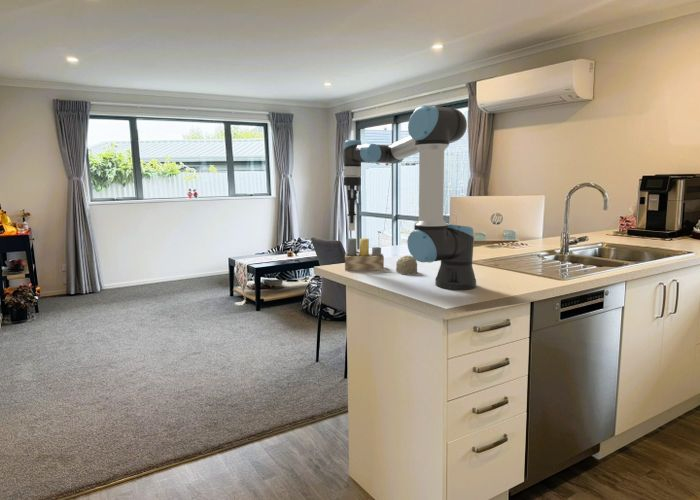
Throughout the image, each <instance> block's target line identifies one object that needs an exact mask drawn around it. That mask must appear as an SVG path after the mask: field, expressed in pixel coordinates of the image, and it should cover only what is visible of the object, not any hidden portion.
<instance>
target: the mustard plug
mask: <svg viewBox="0 0 700 500" xmlns="http://www.w3.org/2000/svg"><path fill="white" fill-rule="evenodd" d="M369 245H370V238H359V254H360V256H369V254H370V252H369V250H370V246H369Z"/></svg>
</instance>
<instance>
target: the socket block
mask: <svg viewBox="0 0 700 500" xmlns="http://www.w3.org/2000/svg"><path fill="white" fill-rule="evenodd" d="M344 254H345V255H344V271H384V269H385V267H384V266H385V265H384V264H385V259H384V254H383V253H381V256H372V253H369V256H360V253H356V256H347V253H344Z"/></svg>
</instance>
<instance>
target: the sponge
mask: <svg viewBox="0 0 700 500" xmlns="http://www.w3.org/2000/svg"><path fill="white" fill-rule="evenodd" d="M395 267H396V269H395V271H396V273H397V274H399V275H415V274H417V273H418V261H417V260H415V259H414V258H413V256H412V255H404V256H401V257H400V258H399V259H397V261H396V266H395Z"/></svg>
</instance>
